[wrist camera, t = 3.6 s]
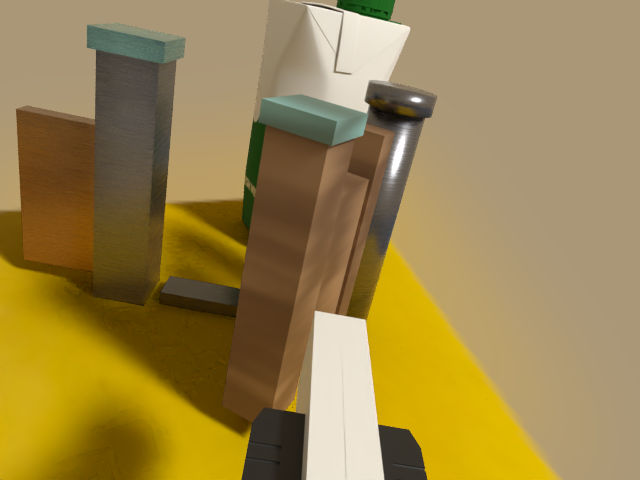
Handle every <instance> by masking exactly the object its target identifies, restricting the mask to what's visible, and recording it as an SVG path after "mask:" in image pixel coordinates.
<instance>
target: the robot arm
mask: <svg viewBox="0 0 640 480" xmlns="http://www.w3.org/2000/svg"><path fill="white" fill-rule="evenodd" d="M242 480H427V476H426V472H425V466H424V461H423V457H422V452H421V448H420V446H419V445H418V443H417V442H416V440H415V439H414V437H413V435H412V434H411V432H410V431H409V430H407V429H401V428H395V427H389V426H383V425H378V422H377V413H376V405H375V396H374V388H373V379H372V371H371V362H370V354H369V345H368V337H367V328H366V320H364V319H359V318H353V317H347V316H342V315H336V314H331V313H325V312H319V311H315V312H314V317H313V321H312V326H311V330H310V334H309V339H308V343H307V348H306V352H305V357H304V361H303V365H302V370H301V374H300V379H299V383H298V393H297V404H296V412H290V411H284V410H278V409H272V408H266V407H264V408H263V409H262V411H261V412H260V413H259V415H258V416H257V417H256V418H255V420H254V421H253V422H252V427H251V433H250V438H249V443H248V449H247V454H246V459H245V464H244V470H243V475H242Z"/></svg>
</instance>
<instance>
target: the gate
mask: <svg viewBox="0 0 640 480" xmlns="http://www.w3.org/2000/svg"><path fill="white" fill-rule="evenodd" d="M367 117H368V114H367V113H364V112H360V111H357V110H354V109H350V108H347V107H343V106H340V105H336V104H333V103H330V102H326V101H323V100H319V99H316V98H313V97H309V96H306V95H302V94H298V95H289V96H280V97H271V98H262V101H261V108H260V115H259V121H258V122H259V123H262V124H265V125H266V129H265V135H264V142H263V148H262V155H261V161H260V167H259V174H258V180H257V186H256V193H255V199H254V205H253V212H252V218H251V224H250V231H249V237H248V243H247V250H246V256H245V262H244V269H243V275H242V281H241V288H240V294H239V301H238V307H237V313H236V320H235V326H234V332H233V339H232V345H231V351H230V358H229V364H228V370H227V377H226V383H225V389H224V396H223V402H222V406H223V407H225V408H227V409H228V410H230V411H232V412H234V413H236V414H237V415H239V416H241V417H243V418H245V419H246V420H248V421H250V422H253V421H254V420H255V418H256V417H257V416H258V415H259V413H260V412H261V411H262V409H263V408H264V407H266V408H272V409H278V410H284V411H285V410H286V408H287V407H288V406H289V405H290V404H291V402H292V401H293V400H294V397H295V393H296V389H297V384H298V380H299V376H300V372H301V369H302V365H303V361H304V357H305V352H306V348H307V343H308V339H309V334H310V330H311V326H312V321H313V317H314V312H315V311H319V312H325V313H331V314H336V315H342V316H346V314H347V310H348V307H349V303H350V299H351V295H352V292H353V288H354V284H355V281H356V277H357V273H358V269H359V266H360V262H361V258H362V254H363V251H364V247H365V243H366V239H367V236H368V232H369V228H370V224H371V221H372V217H373V213H374V209H375V206H376V202H377V198H378V194H379V191H380V187H381V183H382V180H383V176H384V172H385V168H386V165H387V161H388V157H389V153H390V150H391V146H392V142H393V138H394V135H395V132H393V131H390V130H387V129H383V128H380V127H377V126H373V125H370V124H367V123H366V121H367Z"/></svg>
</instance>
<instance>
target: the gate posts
mask: <svg viewBox="0 0 640 480" xmlns="http://www.w3.org/2000/svg"><path fill="white" fill-rule="evenodd" d="M87 48H91V49H96V98H95V101H96V102H95V119H89V118H85V117H80V116H75V115H70V114H65V113H60V112H55V111H50V110H46V109H41V108H36V107H31V106H24V107H21V108H18V109H16V116H17V135H18V155H19V175H20V194H21V213H22V233H23V252H24V260H29V261H34V262H40V263H45V264H51V265H56V266H61V267H67V268H72V269H78V270H83V271H89V272H93V296H94V297H100V298H105V299H111V300H117V301H122V302H128V303H133V304H139V305H144V304H145V302H146V301H147V299H148V298H149V296H150V294H151V293H152V291H153V290H154V288H155V287H156V285H157V283H158V282H159V277H160V265H161V252H162V239H163V226H164V213H165V200H166V188H167V175H168V161H169V149H170V136H171V123H172V111H173V96H174V85H175V72H176V60H177V59H180V58H183V57H184V48H185V38H184V37H179V36H175V35H170V34H165V33H161V32H156V31H151V30H147V29H142V28H137V27H133V26H128V25H124V24H119V23H111V24H95V25H87ZM436 100H437V96H436V95H434V94H432V93H429V92H426V91H423V90H420V89H417V88H413V87H409V86H405V85H401V84H397V83H391V82H386V81H379V80H369V82H368V86H367V91H366V95H365V99H364V101H365V102H366V103H367V104H369V107H368V111H367V114H368V117H367V121H366V123H367V124H370V125H373V126H377V127H380V128H383V129H387V130H390V131H393V132H395V135H394V138H393V142H392V146H391V150H390V153H389V157H388V161H387V165H386V168H385V172H384V176H383V180H382V183H381V187H380V191H379V194H378V198H377V202H376V206H375V209H374V213H373V217H372V221H371V224H370V228H369V232H368V236H367V239H366V243H365V247H364V251H363V254H362V258H361V262H360V266H359V269H358V273H357V277H356V281H355V284H354V288H353V292H352V295H351V299H350V303H349V307H348V310H347V314H346V316H347V317H353V318H359V319H364V320H367V317H368V313H369V310H370V306H371V303H372V300H373V296H374V293H375V289H376V286H377V282H378V279H379V275H380V272H381V268H382V265H383V261H384V258H385V255H386V251H387V248H388V244H389V241H390V237H391V234H392V230H393V227H394V223H395V220H396V217H397V213H398V210H399V206H400V203H401V199H402V196H403V192H404V189H405V185H406V181H407V178H408V175H409V172H410V168H411V164H412V161H413V158H414V154H415V151H416V147H417V144H418V140H419V137H420V133H421V130H422V127H423V123H424V120H425V118H430V117H431V116H432V113H433V109H434V106H435V103H436ZM239 294H240V289H238V288H232V287H227V286H222V285H216V284H211V283H205V282H200V281H194V280H189V279H184V278H178V277H173V276H170V277H169V279H168V281H167V282H166V284H165V286H164V287H163V289H162V291H161V292H160V303H161V304H166V305H172V306H177V307H183V308H188V309H194V310H199V311H205V312H210V313H216V314H221V315H227V316H233V317H236V313H237V307H238V301H239Z"/></svg>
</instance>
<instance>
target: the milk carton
mask: <svg viewBox="0 0 640 480" xmlns="http://www.w3.org/2000/svg"><path fill="white" fill-rule="evenodd" d="M394 3H395V0H338V2H337V8H336V7H333V6H329V5H325V4H319V3H311V2H301V3H296V2H292V1H288V0H269V8H268V16H267V25H266V33H265V40H264V48H263V55H262V62H261V69H260V76H259V83H258V89H257V97H256V103H255V110H254V117H253V124H252V131H251V138H250V145H249V152H248V159H247V166H246V175H245V185H244V199H243V212H242V220H243V221H244V223H245V225H246V226H247V228H248V229H249V231H250V224H251V218H252V212H253V205H254V199H255V193H256V186H257V180H258V174H259V167H260V161H261V155H262V148H263V142H264V135H265V129H266V125H265V124H262V123H259V122H258V121H259V115H260V108H261V101H262V98H271V97H280V96H289V95H298V94H302V95H306V96H309V97H313V98H316V99H319V100H323V101H326V102H330V103H333V104H336V105H340V106H343V107H347V108H350V109H354V110H357V111H360V112H364V113H367V111H368V107H369V104H367V103H366V102H365V101H364V99H365V95H366V91H367V86H368V82H369V80H379V81H386V82H388V80H389V78H390V75H391V73H392V71H393V68H394V66H395V64H396V62H397V59H398V57H399V55H400V52H401V50H402V48H403V46H404V43H405V41H406V39H407V36H408V34H409V32H410V27H408V26H404V25H401V23H397V22H393V21H389V20H390V19H391V15H392V14H391V13H392V12H393V7H394Z"/></svg>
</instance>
